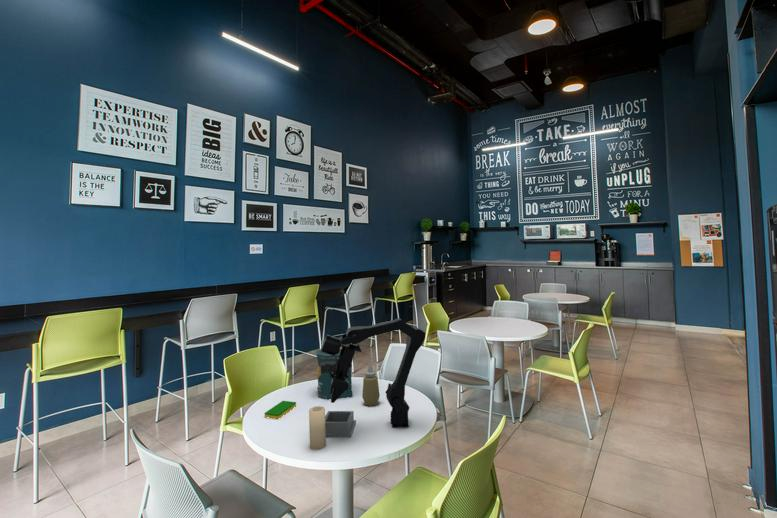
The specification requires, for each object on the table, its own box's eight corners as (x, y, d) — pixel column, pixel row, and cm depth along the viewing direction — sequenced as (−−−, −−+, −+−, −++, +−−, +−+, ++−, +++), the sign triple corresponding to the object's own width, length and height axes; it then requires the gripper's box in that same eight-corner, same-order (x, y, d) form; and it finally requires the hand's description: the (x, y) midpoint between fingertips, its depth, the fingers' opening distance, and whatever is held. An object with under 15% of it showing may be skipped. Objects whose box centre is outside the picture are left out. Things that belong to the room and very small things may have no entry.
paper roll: (327, 441, 131) (326, 405, 131) (323, 449, 125) (322, 412, 125) (312, 441, 131) (311, 405, 131) (307, 449, 126) (306, 412, 126)
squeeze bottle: (364, 408, 159) (363, 367, 159) (360, 401, 167) (359, 362, 167) (381, 405, 161) (380, 366, 161) (377, 399, 169) (376, 361, 169)
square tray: (356, 422, 146) (355, 410, 146) (351, 437, 134) (350, 424, 134) (326, 422, 146) (326, 410, 146) (319, 437, 134) (319, 423, 134)
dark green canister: (352, 397, 172) (351, 339, 172) (318, 401, 169) (316, 341, 169) (348, 385, 188) (347, 332, 188) (317, 388, 184) (315, 334, 184)
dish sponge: (296, 407, 163) (296, 401, 163) (278, 420, 150) (278, 414, 150) (283, 405, 165) (282, 400, 165) (264, 418, 152) (263, 413, 152)
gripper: (325, 347, 147) (312, 383, 146) (326, 359, 128) (311, 401, 127) (350, 354, 149) (338, 391, 148) (355, 368, 130) (340, 410, 129)
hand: (331, 397), depth 138 cm, fingers open, 9 cm apart
